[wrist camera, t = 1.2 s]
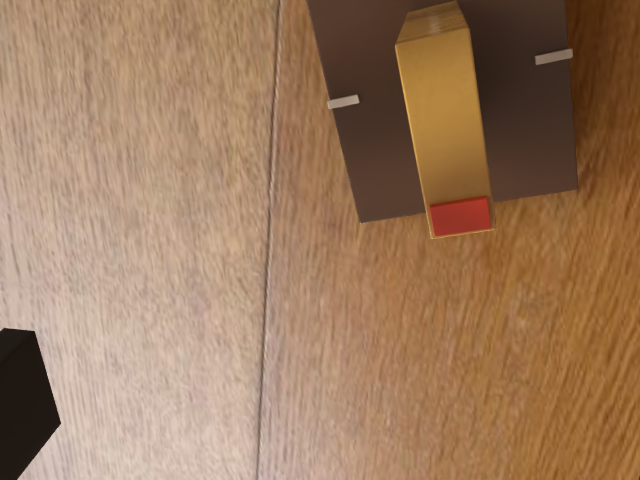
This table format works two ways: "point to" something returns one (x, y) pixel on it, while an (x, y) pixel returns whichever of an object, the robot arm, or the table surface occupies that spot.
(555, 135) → the plate
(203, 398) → the table surface
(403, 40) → the handle
